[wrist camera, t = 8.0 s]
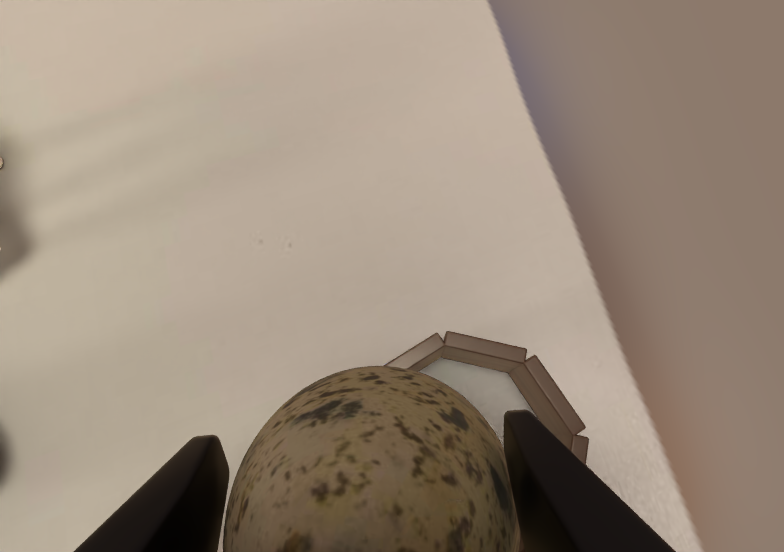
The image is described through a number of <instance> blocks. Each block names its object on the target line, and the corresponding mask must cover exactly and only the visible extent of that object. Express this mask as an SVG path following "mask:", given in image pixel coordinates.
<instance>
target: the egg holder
mask: <svg viewBox="0 0 784 552" xmlns="http://www.w3.org/2000/svg"><path fill="white" fill-rule="evenodd" d="M526 353H527V349H525V348H521V347H517V346H512V345H508V344H503V343H499V342H494V341H490V340H486V339H481V338H477V337H472V336H468V335H463V334H459V333H455V332H450V331H447V332H446V334H445V337H444V340H442V338H441V337H440V335H439V334H438V333H435V334H434V335H432V336H430V337H429V338H427V339H426V340H424V341H422V342H421V343H419V344H418V345H416V346H414V347H413V348H411V349H410V350H408V351H406V352H405V353H403V354H402V355H400V356H398V357H397V358H395V359H394V360H392V361H390V362H389V363H387V364H386V365H384V366H390V367H398V368H404V369H409V370H413V371H416V372H418V371H420V370H421V369H423V368H424V367H426V366H428V365H429V364H431V363H432V362H434V361H436V360H437V359H439V358H440V357H442V358H447V359H451V360H455V361H460V362H464V363H468V364H472V365H477V366H481V367H485V368H490V369H494V370H498V371H503V372H507V373H508V374H509V375H510V377H511V378H512V380H513V381H514V383H515V384H516V386H517V387H518V389H519V390H520V392H521V393H522V394H523V396H524V397H525V399H526V400H527V402H528V403H529V405H530V406H531V408H532V409H533V411H534V412H535V414H536V415H537V417H538V418H539V420H540V421H541V423H542V424H543V425H545V426H546V427H547V428H548V429H549V430H550V431H551V432H552V433H553V434H554V435H555V436H556V437H557V438H558V439H559V440H560V441H561V442H562V443H563V444H564V445H565V446H566V447H567V448H568V449H569V450H571V451H572V452H573V453H574V454H575V455H576V456H577V457H578V458H579V459H580V460H581V461H582V462H583V463H584V464H585V465H586V458H587V450H588V443H589V439H588V438H587V437H584V436H580V435H576V434H578V433H579V432H581V431H582V430H584V429H585V428H586V427H585V425H584V423H583V422H582V420H581V419H580V418H579V416H578V415H577V413H576V412H575V410H574V409H573V408H572V406H571V405H570V403H569V402H568V400H567V399H566V398H565V396H564V395H563V393H562V392H561V390H560V389H559V388H558V386H557V385H556V383H555V382H554V380H553V379H552V378H551V376H550V375H549V373H548V372H547V370H546V369H545V368H544V366H543V365H542V363H541V362H540V360H539V359H538V358H537V356H536V355H534V356H532V357H530V358H528V359H527V360H525V359H526ZM518 552H526V551H525V548H524V544H523V541H522V537H521V533H520V542H519V550H518Z"/></svg>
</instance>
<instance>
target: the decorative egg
mask: <svg viewBox="0 0 784 552" xmlns="http://www.w3.org/2000/svg"><path fill="white" fill-rule="evenodd" d="M519 542H520V528H519V524H518V519H517V514H516V509H515V504H514V499H513V494H512V489H511V484H510V479H509V474H508V469H507V464H506V459H505V454H504V449H503V447H502V445H501V443H500V441H499V439H498V438H497V436H496V434H495V433H494V431H493V430H492V428H491V427H490V425H489V424H488V422H487V421H486V420H485V418H484V417H483V416H482V415H481V414H480V413H479V411H478V410H477V409H476V408H475V407H474V406H473V405H472V404H471V403H470V402H469V401H468V400H466V399H465V398H464V397H463V396H462V395H460V394H459V393H458V392H456V391H455V390H453V389H452V388H450V387H449V386H447V385H446V384H444V383H442V382H440V381H438V380H436V379H434V378H432V377H430V376H428V375H425V374H422V373H419V372H416V371H413V370H409V369H404V368H398V367H390V366H368V367H360V368H354V369H349V370H345V371H341V372H338V373H335V374H332V375H330V376H327V377H325V378H323V379H321V380H318V381H316V382H315V383H313V384H311V385H309V386H308V387H306V388H304V389H303V390H301V391H300V392H298V393H297V394H296V395H294V396H293V397H292V398H291V399H289V400H288V401H287V402H286V403H285V404H283V405H282V406H281V407H280V408H279V409H278V410H277V411H276V413H275V414H274V415H273V416H272V417H271V418H270V419H269V420H268V422H267V423H266V424H265V425H264V427H263V428H262V429H261V430H260V432H259V433H258V435H257V436H256V438H255V439H254V441H253V442H252V444H251V446H250V447H249V449H248V451H247V453H246V454H245V456H244V458H243V461H242V463H241V465H240V467H239V469H238V472H237V475H236V477H235V480H234V483H233V486H232V490H231V493H230V497H229V501H228V506H227V510H226V518H225V526H224V536H223V552H518V550H519Z"/></svg>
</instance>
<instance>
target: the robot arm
mask: <svg viewBox="0 0 784 552" xmlns="http://www.w3.org/2000/svg"><path fill="white" fill-rule="evenodd" d="M504 454H505V459H506V464H507V469H508V474H509V479H510V484H511V489H512V494H513V499H514V504H515V509H516V514H517V519H518V524H519V528H520V533H521V537H522V541H523V544H524V548H525V551H526V552H676V551H675V550H674V549H672V548H671V547H670V546H669V545H668V544H667V543H666V542H665V541H664V540H663V539H662V538H661V537H660V536H659V535H658V534H657V533H656V532H655V531H654V530H653V529H652V528H651V527H650V526H649V525H648V524H646V523H645V522H644V521H643V520H642V519H641V518H640V517H639V516H638V515H637V514H636V513H635V512H634V511H633V510H632V509H631V508H630V507H629V506H628V505H627V504H626V503H625V502H624V501H623V500H621V499H620V498H619V497H618V496H617V495H616V494H615V493H614V492H613V491H612V490H611V489H610V488H609V487H608V486H607V485H606V484H605V483H604V482H603V481H602V480H601V479H600V478H599V477H598V476H597V475H595V474H594V473H593V472H592V471H591V470H590V469H589V468H588V467H587V466H586V465H585V464H584V463H583V462H582V461H581V460H580V459H579V458H578V457H577V456H576V455H575V454H574V453H573V452H572V451H571V450H569V449H568V448H567V447H566V446H565V445H564V444H563V443H562V442H561V441H560V440H559V439H558V438H557V437H556V436H555V435H554V434H553V433H552V432H551V431H550V430H549V429H548V428H547V427H546V426H545V425H543V424H542V423H541V422H540V421H539V420H538V419H537V418H536V417H535V416H534V415H533V414H532V413H531V412H530V411H528V410H513V411H507V412H506V413H505V415H504ZM228 482H229V466H228V463H227V460H226V457H225V454H224V451H223V448H222V445H221V442H220V440H219V438H218V437H217V436H216V435H206V436H196V437H194V438H192V439H191V440H190V441H189V442H187V443H186V444H185V445H184V446H183V447H182V448H181V449H180V450H179V451H178V452H177V453H176V454H175V455H174V456H173V457H172V458H171V459H170V460H169V461H168V462H167V463H166V464H165V465H163V466H162V467H161V468H160V469H159V470H158V471H157V472H156V473H155V474H154V475H153V476H152V477H151V478H150V479H149V480H148V481H147V482H146V483H145V484H144V485H143V486H142V487H141V488H140V489H138V490H137V491H136V492H135V493H134V494H133V495H132V496H131V497H130V498H129V499H128V500H127V501H126V502H125V503H124V504H123V505H122V506H121V507H120V508H119V509H118V510H117V511H116V512H114V513H113V514H112V515H111V516H110V517H109V518H108V519H107V520H106V521H105V522H104V523H103V524H102V525H101V526H100V527H99V528H98V529H97V530H96V531H95V532H94V533H93V534H92V535H90V536H89V537H88V538H87V539H86V540H85V541H84V542H83V543H82V544H81V545H80V546H79V547H78V548H77V549H76V550H75V551H74V552H217V550H218V544H219V538H220V532H221V525H222V519H223V513H224V507H225V501H226V495H227V489H228Z"/></svg>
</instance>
